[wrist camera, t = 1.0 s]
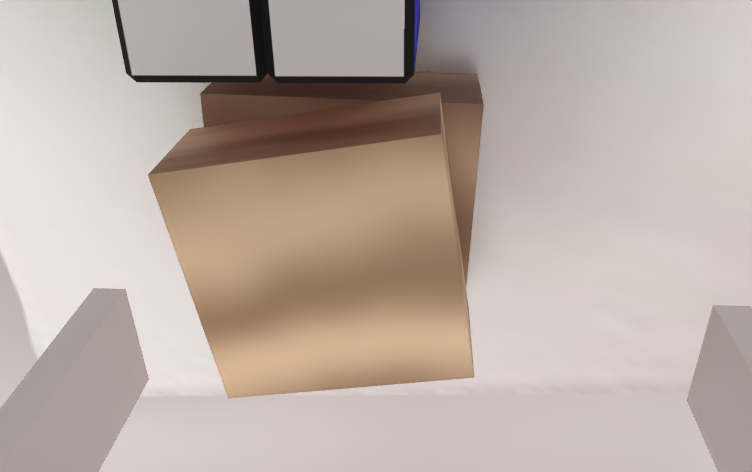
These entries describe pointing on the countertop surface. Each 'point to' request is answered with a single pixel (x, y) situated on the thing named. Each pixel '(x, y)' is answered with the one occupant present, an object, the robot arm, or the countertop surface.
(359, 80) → the puzzle cube
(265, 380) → the tower top
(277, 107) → the tower base
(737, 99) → the countertop surface
